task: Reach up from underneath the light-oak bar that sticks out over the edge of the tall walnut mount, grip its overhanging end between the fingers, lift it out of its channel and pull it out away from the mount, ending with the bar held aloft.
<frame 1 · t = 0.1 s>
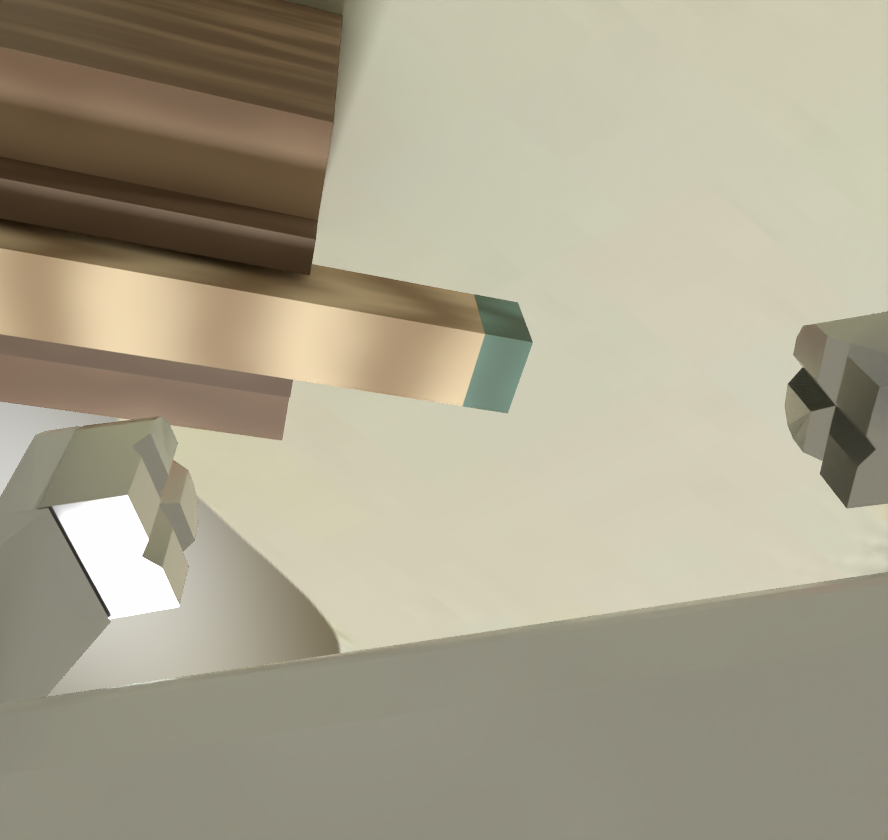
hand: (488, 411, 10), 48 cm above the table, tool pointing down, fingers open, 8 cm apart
walnut mount: (221, 109, 52), on the table
oak bar: (233, 288, 32), point 26 cm above the table, touching walnut mount
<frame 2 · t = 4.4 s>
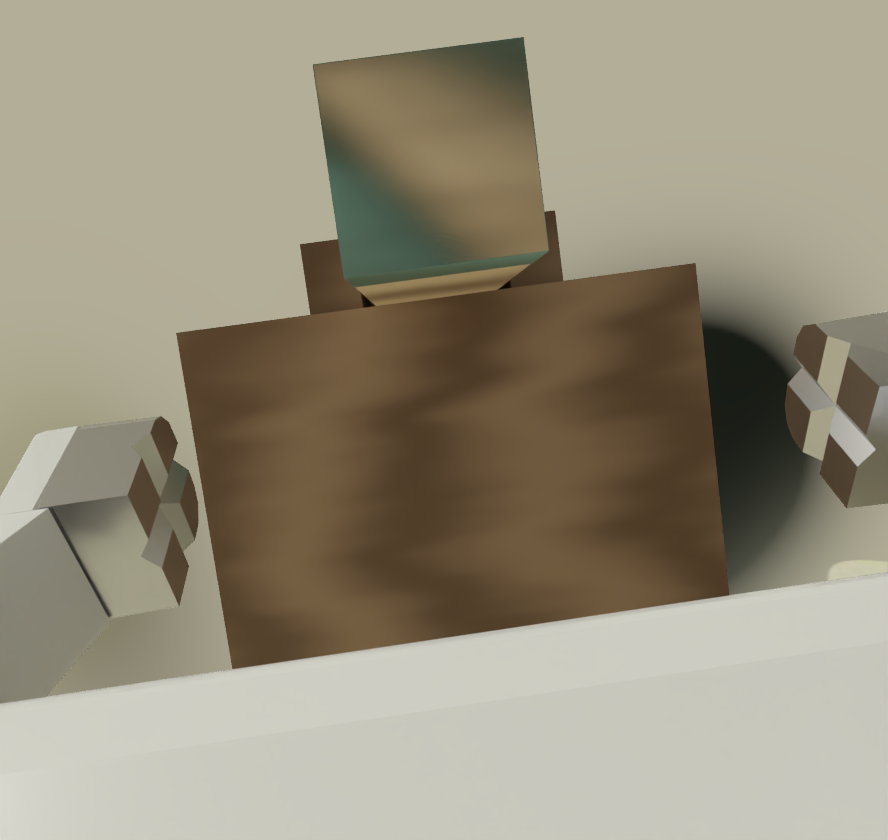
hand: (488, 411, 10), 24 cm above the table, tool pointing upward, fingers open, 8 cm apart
oak bar: (434, 303, 25), point 26 cm above the table, touching walnut mount
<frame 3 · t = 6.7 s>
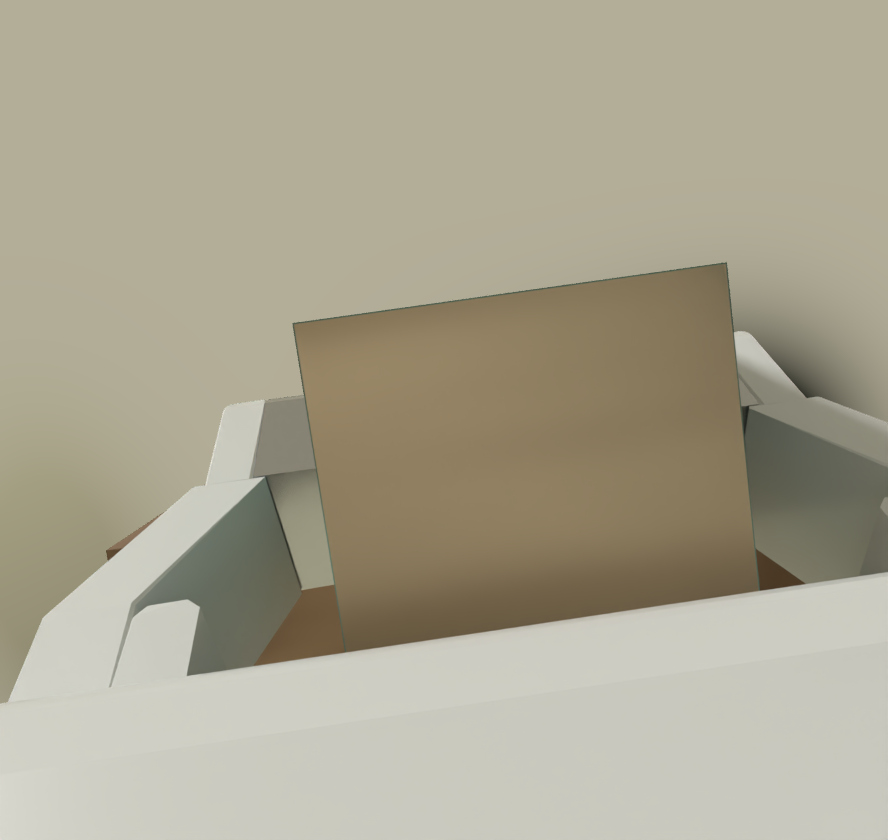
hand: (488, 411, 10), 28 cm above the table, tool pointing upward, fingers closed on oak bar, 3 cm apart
oak bar: (468, 472, 18), point 26 cm above the table, touching gripper, walnut mount
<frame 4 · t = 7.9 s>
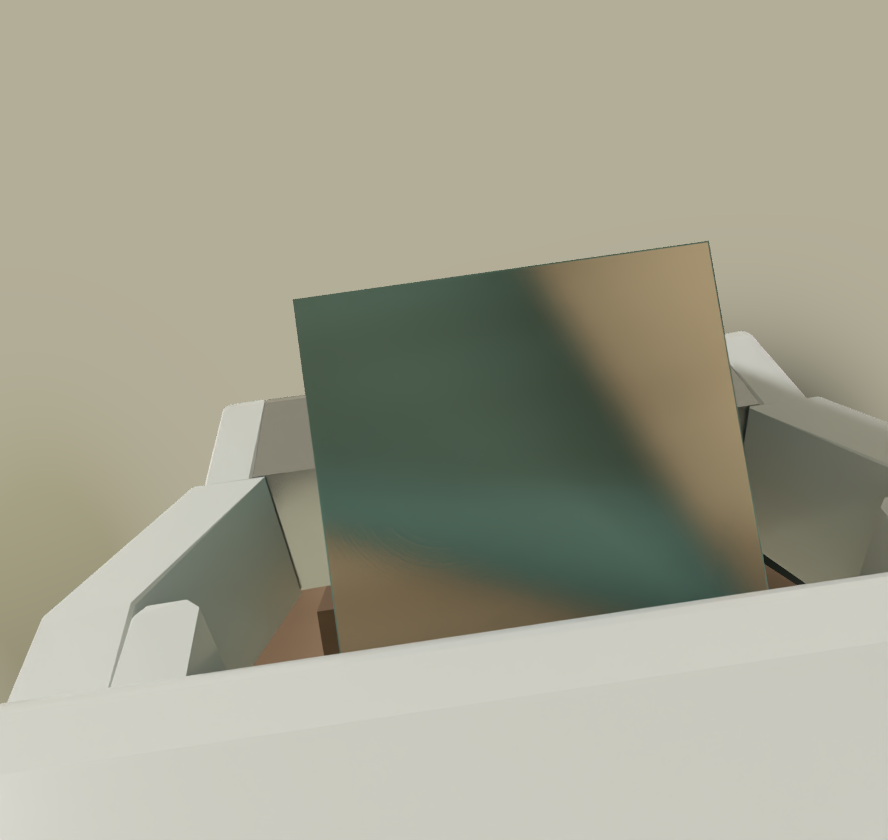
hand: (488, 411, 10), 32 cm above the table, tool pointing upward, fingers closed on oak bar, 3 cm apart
oak bar: (483, 551, 18), point 28 cm above the table, tilted 10°, touching gripper
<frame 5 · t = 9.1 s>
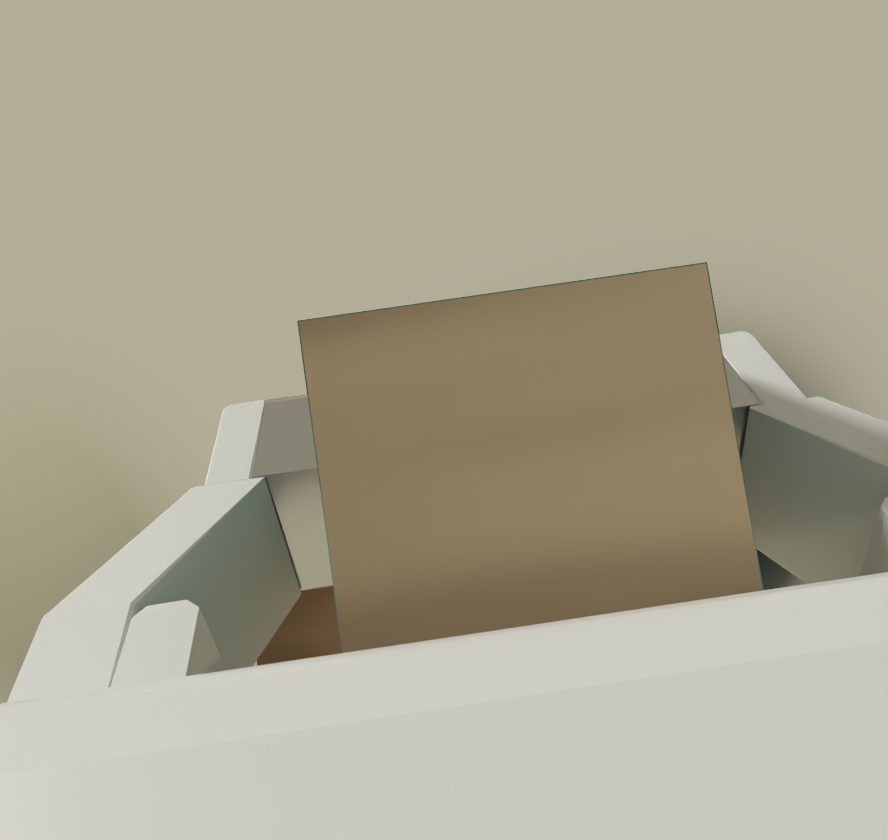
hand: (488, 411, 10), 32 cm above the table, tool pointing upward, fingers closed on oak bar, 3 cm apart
oak bar: (483, 555, 18), point 28 cm above the table, tilted 10°, touching gripper
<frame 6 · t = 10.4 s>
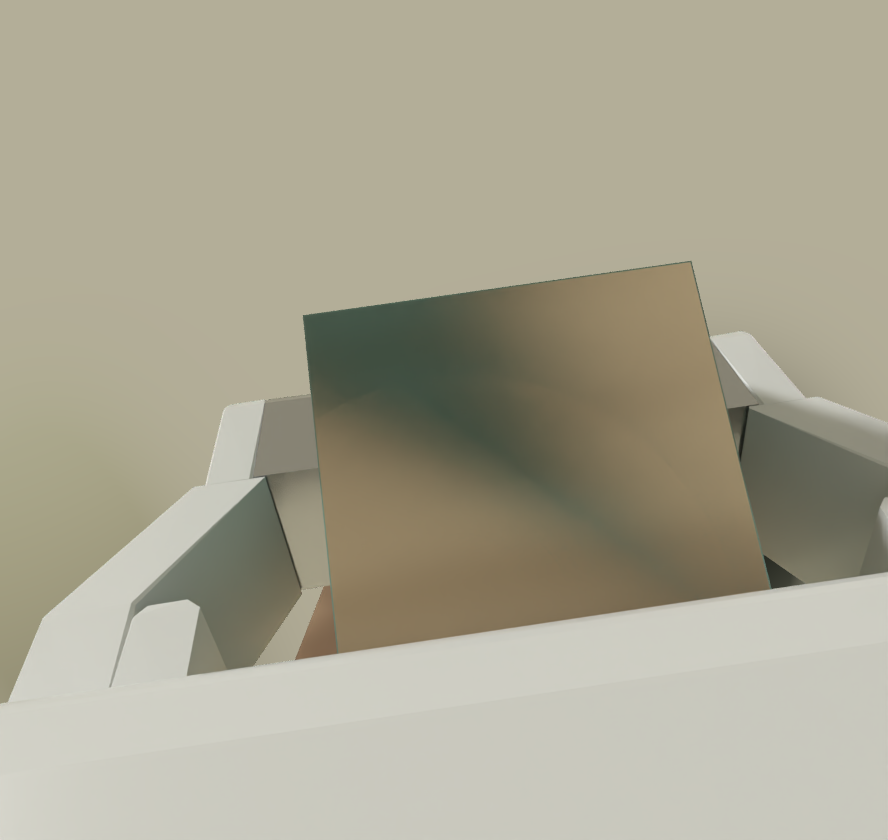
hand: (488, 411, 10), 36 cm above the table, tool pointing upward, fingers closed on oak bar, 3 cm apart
oak bar: (498, 648, 18), point 30 cm above the table, tilted 21°, touching gripper, walnut mount
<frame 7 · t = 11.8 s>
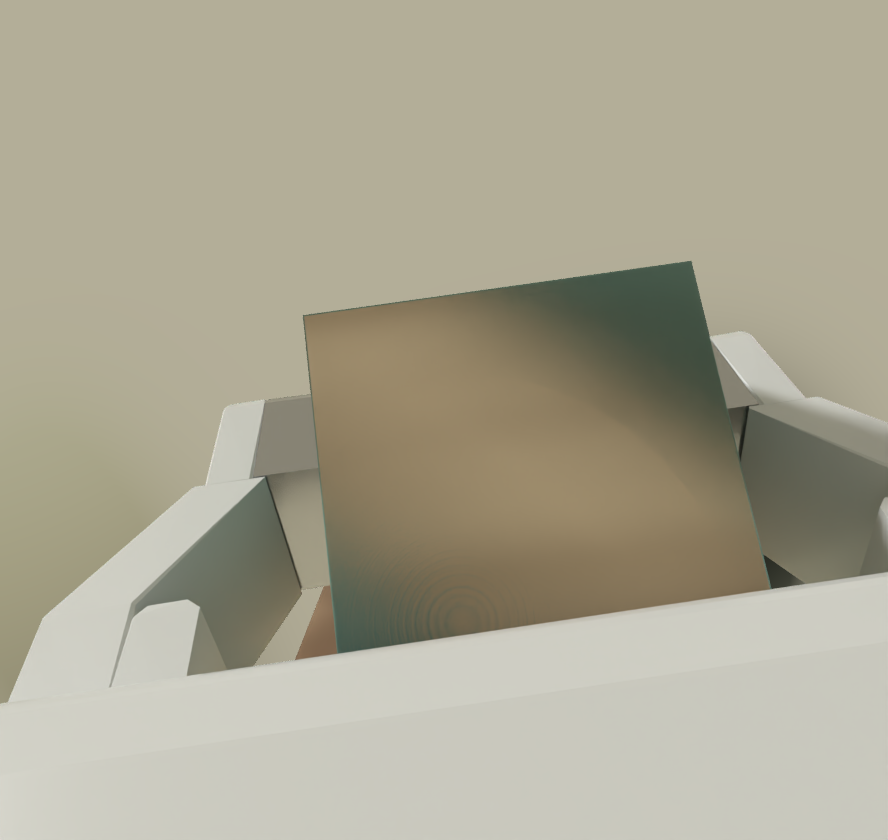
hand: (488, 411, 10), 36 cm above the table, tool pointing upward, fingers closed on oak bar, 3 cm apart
oak bar: (498, 648, 18), point 30 cm above the table, tilted 21°, touching gripper, walnut mount
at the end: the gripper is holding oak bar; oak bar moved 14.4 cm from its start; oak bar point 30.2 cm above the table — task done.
